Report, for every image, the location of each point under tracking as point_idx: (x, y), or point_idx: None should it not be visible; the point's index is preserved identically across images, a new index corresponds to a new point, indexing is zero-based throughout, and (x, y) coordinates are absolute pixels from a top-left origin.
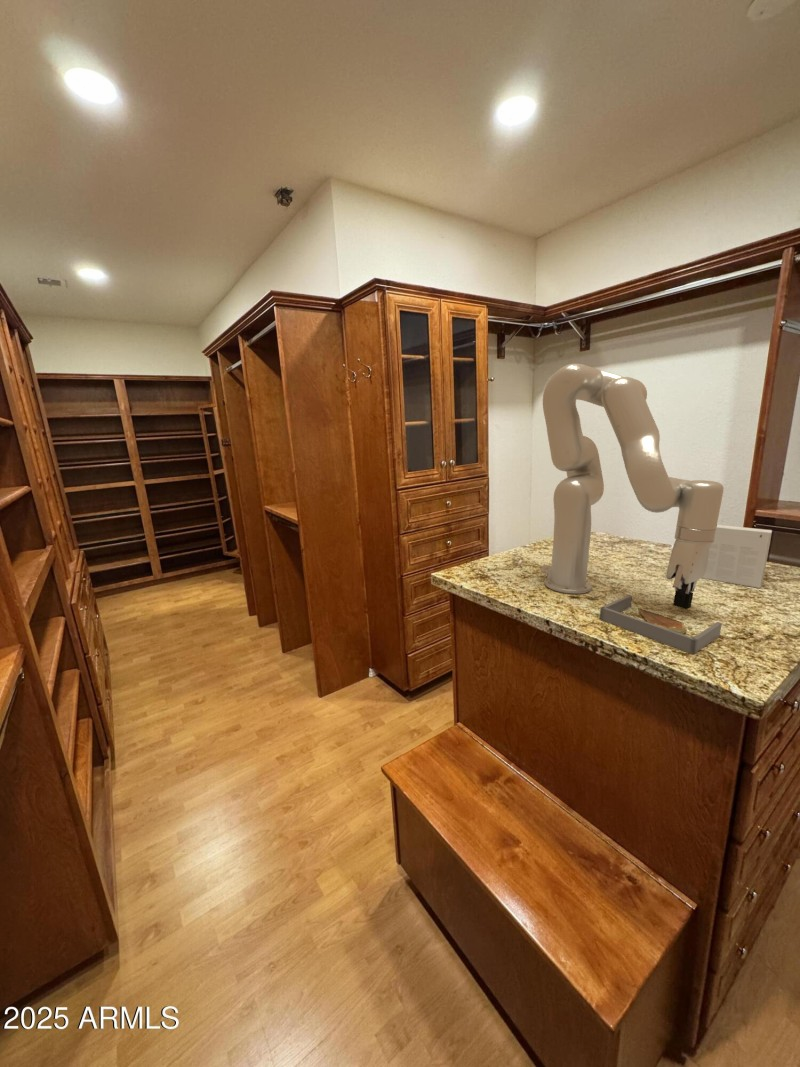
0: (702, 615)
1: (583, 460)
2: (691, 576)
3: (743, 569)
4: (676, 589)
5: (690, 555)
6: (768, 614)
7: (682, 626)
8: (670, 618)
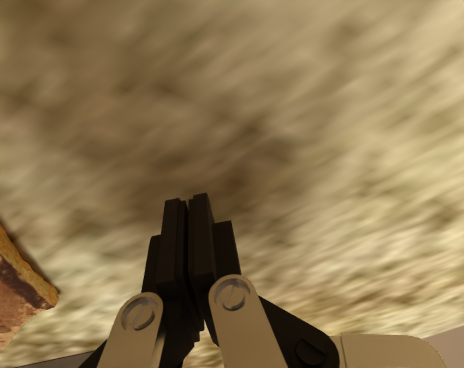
0: (242, 257)
1: None
2: None
3: None
4: (121, 321)
5: None
6: (438, 306)
7: (3, 334)
8: (16, 275)
